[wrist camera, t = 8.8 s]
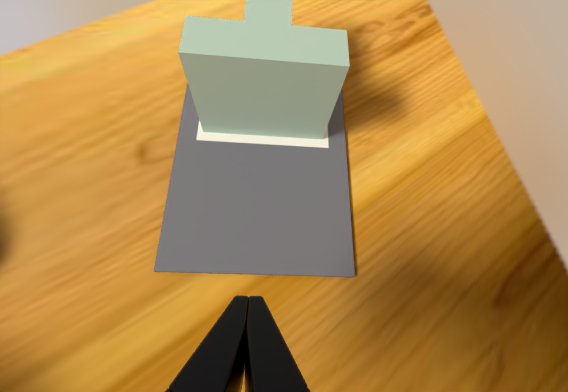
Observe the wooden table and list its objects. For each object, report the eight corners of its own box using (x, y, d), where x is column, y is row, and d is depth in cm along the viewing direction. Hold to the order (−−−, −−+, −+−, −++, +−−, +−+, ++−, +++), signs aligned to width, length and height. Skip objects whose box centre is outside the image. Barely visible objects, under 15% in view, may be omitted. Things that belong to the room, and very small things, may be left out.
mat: (353, 277, 21) (354, 276, 21) (155, 271, 20) (153, 271, 20) (338, 50, 29) (339, 48, 29) (196, 38, 28) (195, 36, 28)
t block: (322, 139, 25) (349, 66, 17) (203, 132, 24) (178, 52, 16) (319, 52, 28) (341, -40, 21) (216, 43, 28) (200, -55, 20)
